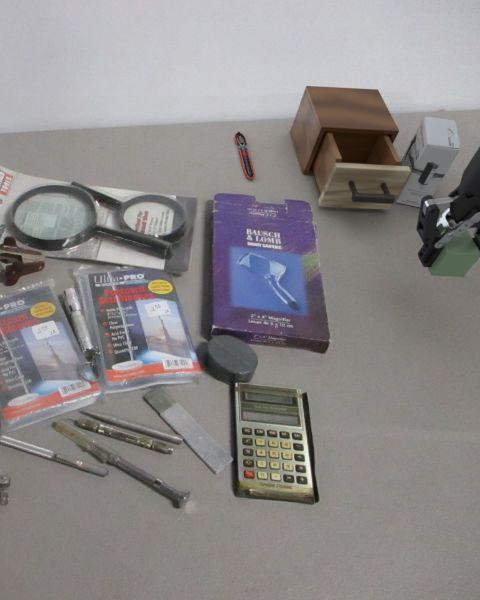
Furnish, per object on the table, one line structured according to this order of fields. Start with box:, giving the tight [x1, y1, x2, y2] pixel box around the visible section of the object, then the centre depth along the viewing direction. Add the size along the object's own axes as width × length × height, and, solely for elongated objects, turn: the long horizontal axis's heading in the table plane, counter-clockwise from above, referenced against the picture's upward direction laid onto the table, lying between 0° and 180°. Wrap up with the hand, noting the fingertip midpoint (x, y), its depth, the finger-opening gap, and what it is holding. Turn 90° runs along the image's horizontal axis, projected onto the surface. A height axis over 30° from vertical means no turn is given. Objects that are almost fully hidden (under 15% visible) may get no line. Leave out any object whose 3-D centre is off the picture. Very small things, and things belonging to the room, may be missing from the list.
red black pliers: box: [234, 131, 256, 180], centre depth 106 cm, size 2×14×1 cm, turn 179°
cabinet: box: [289, 85, 400, 176], centre depth 104 cm, size 13×13×10 cm
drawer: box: [311, 131, 411, 210], centre depth 96 cm, size 16×11×8 cm
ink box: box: [394, 115, 461, 208], centre depth 97 cm, size 8×5×12 cm, turn 162°
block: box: [427, 230, 480, 278], centre depth 76 cm, size 4×4×4 cm
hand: (443, 263), depth 77 cm, fingers closed on block, 4 cm apart
